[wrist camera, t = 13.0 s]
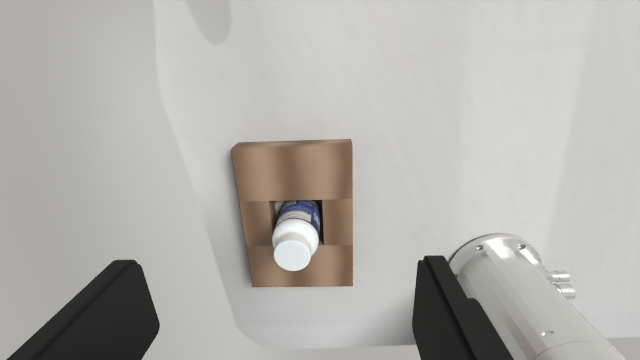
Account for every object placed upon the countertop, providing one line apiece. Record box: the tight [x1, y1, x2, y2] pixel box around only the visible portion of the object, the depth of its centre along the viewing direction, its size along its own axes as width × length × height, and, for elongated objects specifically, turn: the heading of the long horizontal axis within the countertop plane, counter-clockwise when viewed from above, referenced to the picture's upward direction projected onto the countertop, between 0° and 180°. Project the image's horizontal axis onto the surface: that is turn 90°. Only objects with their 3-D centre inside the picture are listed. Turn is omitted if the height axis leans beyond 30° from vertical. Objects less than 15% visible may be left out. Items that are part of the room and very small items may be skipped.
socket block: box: [231, 139, 353, 287], centre depth 40 cm, size 14×20×3 cm
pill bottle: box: [272, 200, 320, 271], centre depth 37 cm, size 5×5×10 cm
